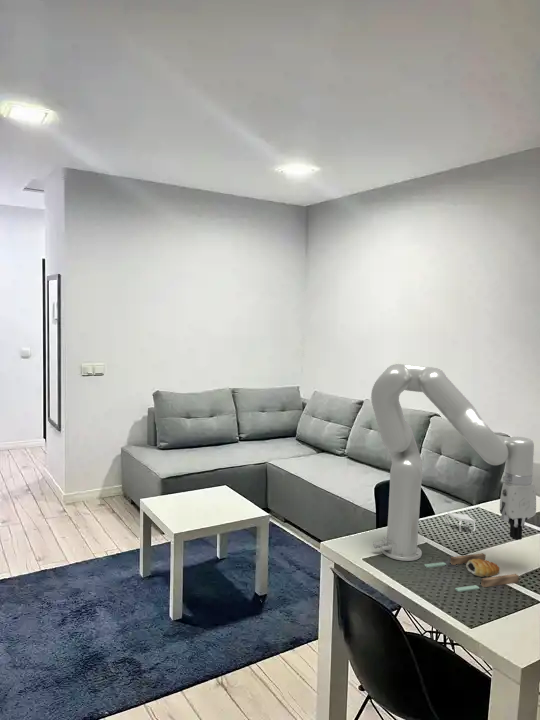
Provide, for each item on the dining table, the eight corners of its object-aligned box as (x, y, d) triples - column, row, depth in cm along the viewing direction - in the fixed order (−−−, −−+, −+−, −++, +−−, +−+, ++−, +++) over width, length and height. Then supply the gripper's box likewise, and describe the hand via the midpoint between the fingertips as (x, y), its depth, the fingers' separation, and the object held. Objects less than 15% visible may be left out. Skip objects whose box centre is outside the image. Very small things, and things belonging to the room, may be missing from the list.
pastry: (491, 566, 174) (492, 554, 173) (504, 576, 167) (505, 564, 167) (463, 568, 171) (464, 556, 171) (476, 579, 165) (477, 566, 164)
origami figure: (479, 529, 203) (480, 515, 203) (474, 536, 196) (475, 522, 196) (445, 521, 210) (446, 508, 209) (439, 528, 203) (440, 515, 202)
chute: (483, 587, 159) (484, 580, 159) (450, 563, 174) (450, 557, 174) (518, 582, 163) (518, 575, 163) (482, 559, 178) (483, 553, 178)
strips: (458, 592, 156) (458, 590, 156) (424, 565, 172) (424, 564, 172) (479, 589, 158) (479, 587, 158) (443, 563, 174) (443, 562, 174)
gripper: (507, 484, 163) (504, 546, 165) (548, 480, 168) (544, 540, 170) (489, 477, 170) (486, 536, 172) (529, 473, 175) (526, 530, 177)
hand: (515, 538), depth 171 cm, fingers closed
